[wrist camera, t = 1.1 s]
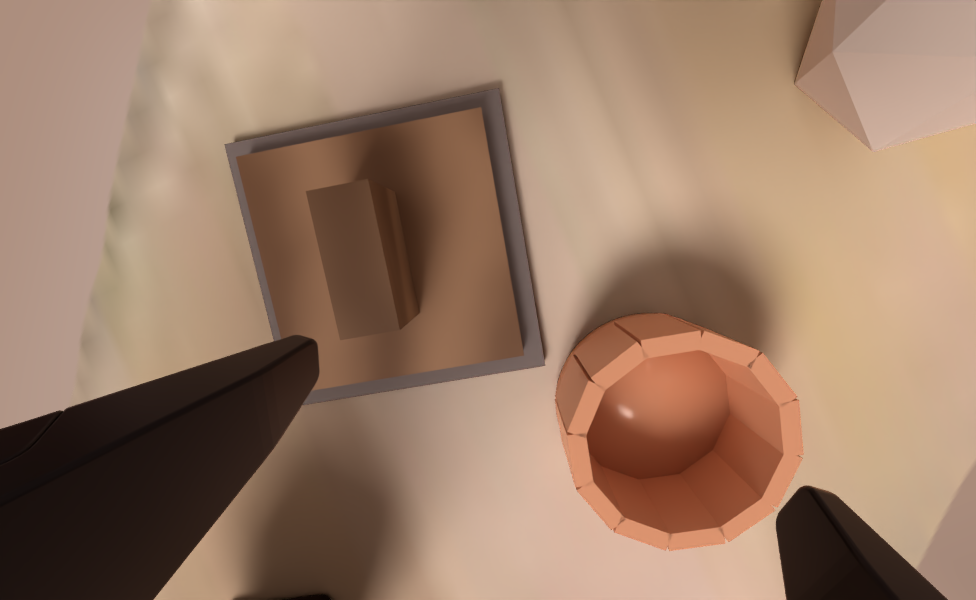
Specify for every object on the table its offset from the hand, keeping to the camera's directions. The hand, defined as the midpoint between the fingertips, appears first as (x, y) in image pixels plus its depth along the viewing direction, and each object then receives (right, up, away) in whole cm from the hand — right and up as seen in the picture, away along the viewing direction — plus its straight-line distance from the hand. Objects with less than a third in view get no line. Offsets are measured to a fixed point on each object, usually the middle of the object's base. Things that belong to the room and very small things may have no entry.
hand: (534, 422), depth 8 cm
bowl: (+8, -3, +15) cm, 17 cm away
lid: (-6, +4, +14) cm, 16 cm away
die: (+17, +13, +12) cm, 25 cm away
